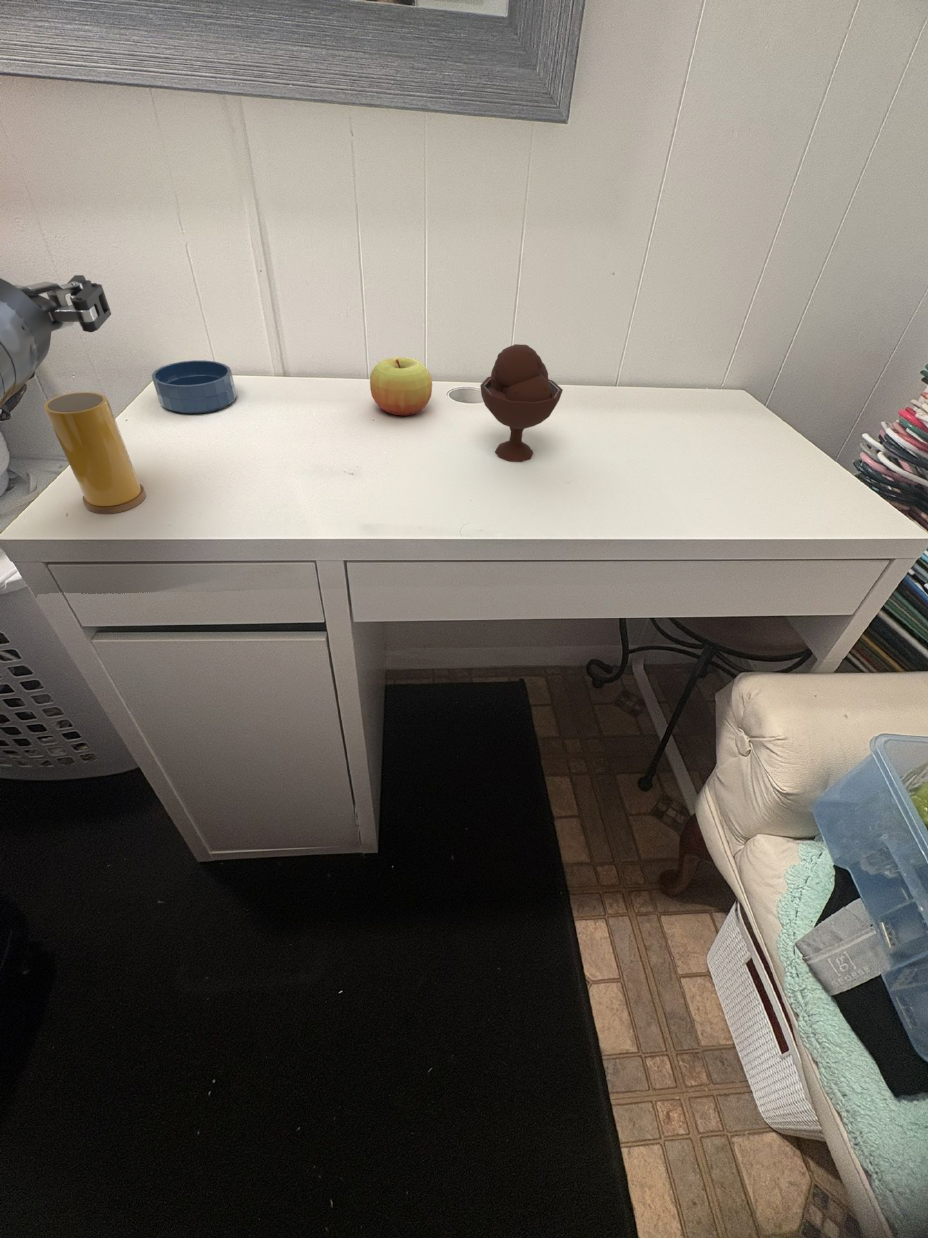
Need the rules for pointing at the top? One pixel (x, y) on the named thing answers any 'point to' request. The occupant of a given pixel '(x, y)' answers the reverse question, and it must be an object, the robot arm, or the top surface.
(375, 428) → the top surface
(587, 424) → the top surface
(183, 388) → the bowl
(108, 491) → the cup
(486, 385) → the ice cream bowl
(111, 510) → the coaster
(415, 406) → the apple
